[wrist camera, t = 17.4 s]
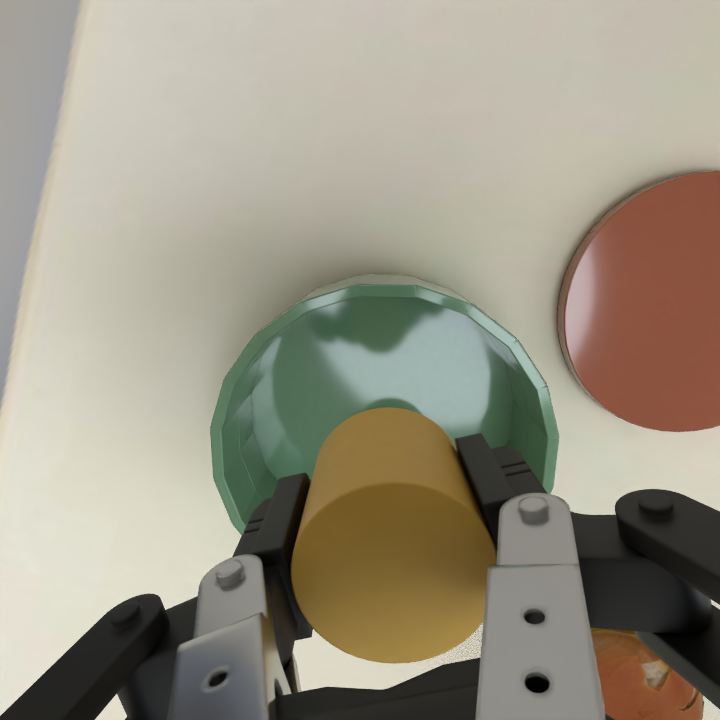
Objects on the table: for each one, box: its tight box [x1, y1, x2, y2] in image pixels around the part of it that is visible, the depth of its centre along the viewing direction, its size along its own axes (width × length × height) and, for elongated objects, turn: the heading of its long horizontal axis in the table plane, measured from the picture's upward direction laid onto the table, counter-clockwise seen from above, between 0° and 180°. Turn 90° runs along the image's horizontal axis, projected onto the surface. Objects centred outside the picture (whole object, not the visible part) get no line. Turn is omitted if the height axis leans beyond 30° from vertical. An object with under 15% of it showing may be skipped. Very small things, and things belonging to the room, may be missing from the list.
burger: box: [591, 628, 704, 720], centre depth 28 cm, size 10×9×5 cm
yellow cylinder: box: [291, 407, 497, 663], centre depth 12 cm, size 4×4×4 cm
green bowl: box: [210, 274, 559, 535], centre depth 24 cm, size 15×15×6 cm
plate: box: [557, 171, 720, 432], centre depth 25 cm, size 13×13×1 cm
